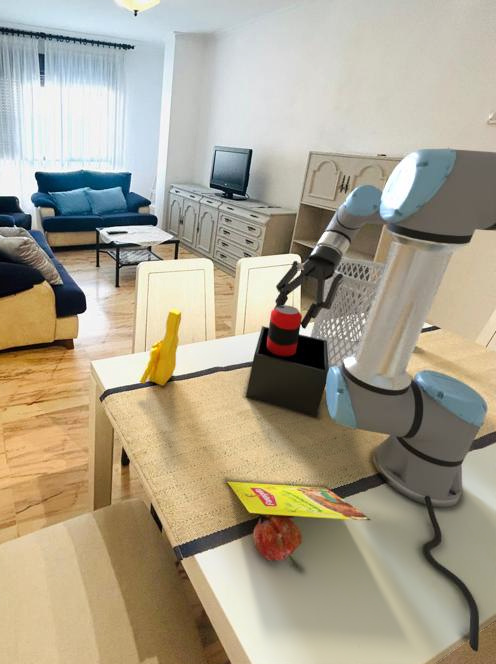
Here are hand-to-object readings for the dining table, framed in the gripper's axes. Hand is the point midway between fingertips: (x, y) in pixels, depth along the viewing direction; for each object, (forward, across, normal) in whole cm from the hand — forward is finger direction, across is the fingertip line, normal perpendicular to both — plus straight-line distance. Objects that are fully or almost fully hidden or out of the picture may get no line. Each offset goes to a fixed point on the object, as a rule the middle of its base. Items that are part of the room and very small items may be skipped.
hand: (288, 320), depth 102 cm
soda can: (+7, 0, -5) cm, 9 cm away
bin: (+15, -3, -14) cm, 21 cm away
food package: (+32, -30, +9) cm, 45 cm away
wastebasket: (-8, -8, -38) cm, 39 cm away
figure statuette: (+32, +21, +3) cm, 38 cm away
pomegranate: (+46, -25, +17) cm, 55 cm away
